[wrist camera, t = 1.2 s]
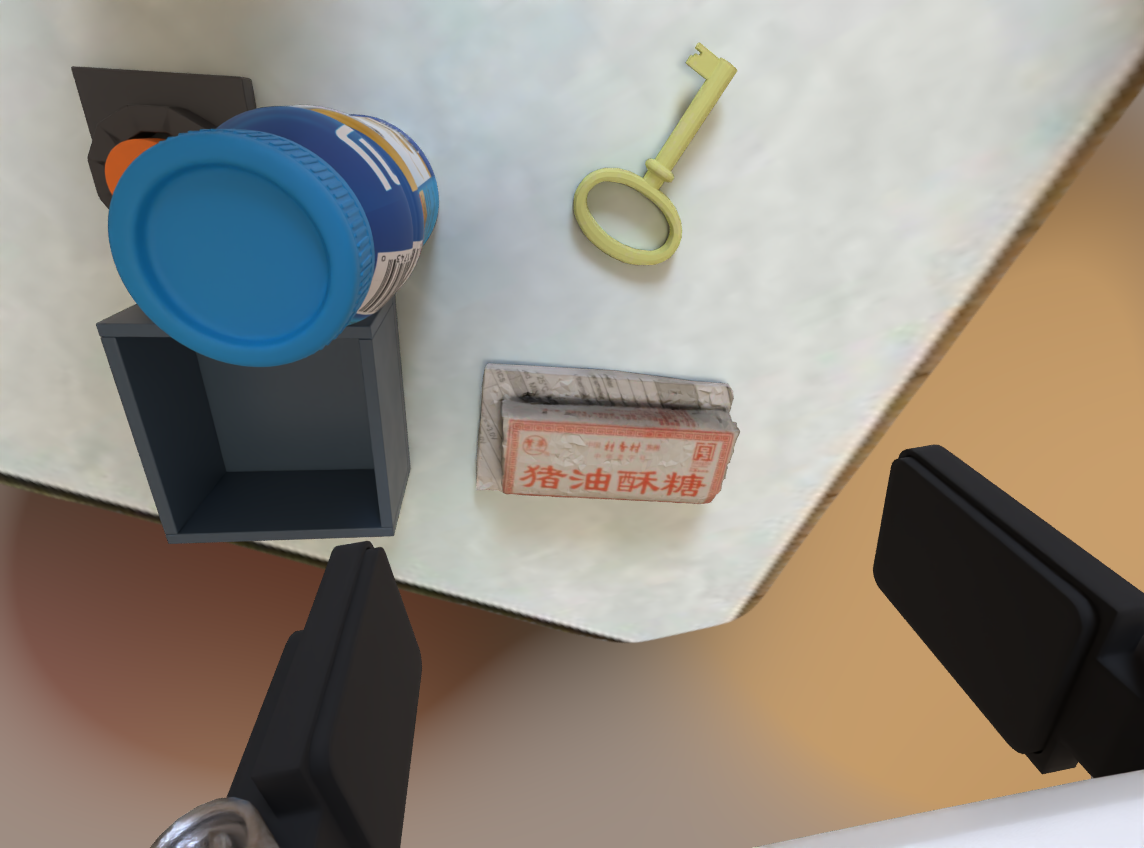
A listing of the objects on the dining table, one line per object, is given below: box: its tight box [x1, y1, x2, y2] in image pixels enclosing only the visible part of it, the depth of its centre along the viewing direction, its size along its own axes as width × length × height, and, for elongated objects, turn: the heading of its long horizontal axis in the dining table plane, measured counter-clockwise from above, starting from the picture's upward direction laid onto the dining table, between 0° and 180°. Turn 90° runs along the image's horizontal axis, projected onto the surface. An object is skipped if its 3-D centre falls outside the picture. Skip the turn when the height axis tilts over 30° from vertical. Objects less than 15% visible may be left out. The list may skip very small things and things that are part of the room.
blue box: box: [96, 294, 410, 544], centre depth 35 cm, size 13×13×8 cm
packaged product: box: [477, 363, 740, 504], centre depth 41 cm, size 18×5×10 cm
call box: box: [71, 66, 256, 209], centre depth 31 cm, size 10×8×3 cm
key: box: [573, 43, 737, 265], centre depth 34 cm, size 7×12×2 cm, turn 166°
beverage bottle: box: [108, 105, 439, 367], centre depth 25 cm, size 8×8×20 cm
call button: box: [105, 138, 166, 195], centre depth 29 cm, size 4×4×2 cm
